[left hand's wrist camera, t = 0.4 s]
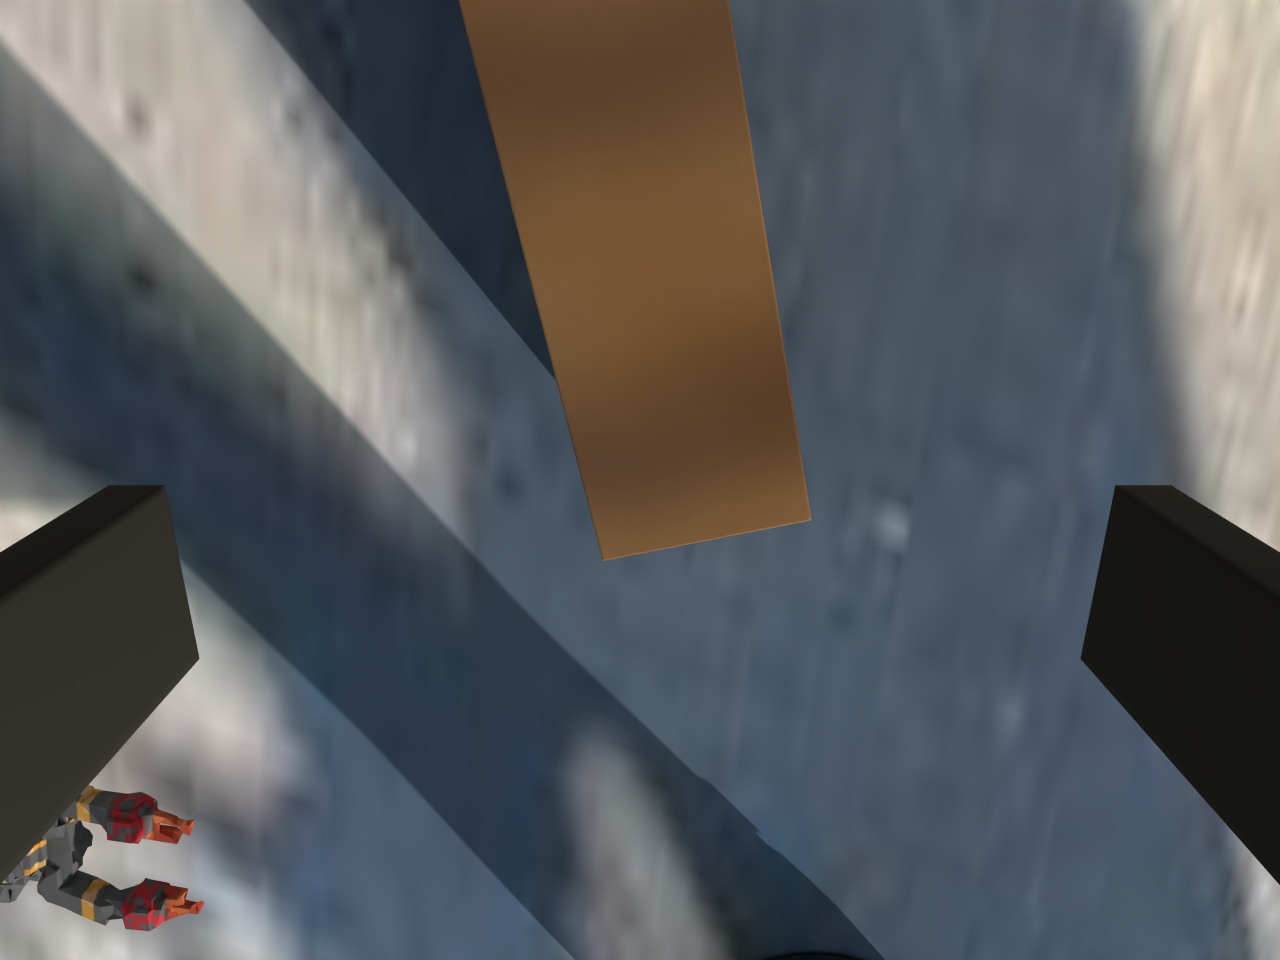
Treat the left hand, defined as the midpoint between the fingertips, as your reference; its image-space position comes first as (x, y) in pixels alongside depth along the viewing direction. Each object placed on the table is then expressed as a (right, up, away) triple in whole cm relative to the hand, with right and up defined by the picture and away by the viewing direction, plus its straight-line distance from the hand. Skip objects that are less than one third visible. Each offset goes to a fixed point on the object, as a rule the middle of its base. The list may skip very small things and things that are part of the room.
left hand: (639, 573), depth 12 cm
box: (-1, +17, +23) cm, 28 cm away
